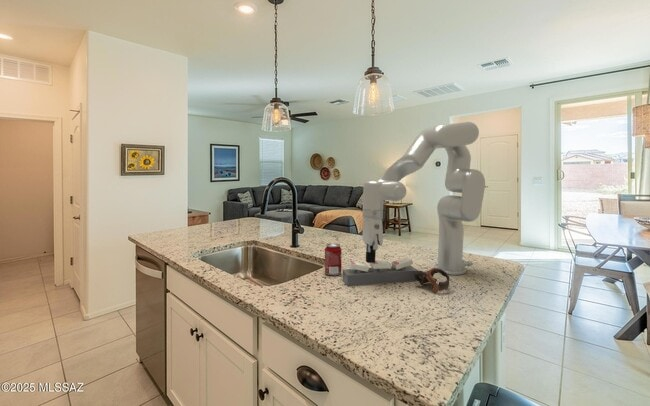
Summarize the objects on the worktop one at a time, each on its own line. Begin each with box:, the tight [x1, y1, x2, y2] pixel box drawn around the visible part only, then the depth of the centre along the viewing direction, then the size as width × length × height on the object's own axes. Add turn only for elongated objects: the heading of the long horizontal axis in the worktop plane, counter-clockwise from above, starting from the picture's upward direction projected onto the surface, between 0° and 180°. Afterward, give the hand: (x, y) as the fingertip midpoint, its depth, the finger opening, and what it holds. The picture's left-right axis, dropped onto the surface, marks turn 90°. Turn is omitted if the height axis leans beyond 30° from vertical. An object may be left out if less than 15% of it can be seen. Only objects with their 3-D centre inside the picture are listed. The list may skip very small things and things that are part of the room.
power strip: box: [342, 265, 421, 287], centre depth 116 cm, size 35×7×5 cm, turn 101°
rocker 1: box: [347, 260, 370, 272], centre depth 113 cm, size 7×4×2 cm, turn 102°
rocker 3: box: [390, 256, 414, 270], centre depth 117 cm, size 7×4×2 cm, turn 100°
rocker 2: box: [369, 260, 392, 269], centre depth 115 cm, size 7×4×2 cm, turn 101°
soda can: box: [324, 242, 342, 277], centre depth 123 cm, size 7×7×12 cm
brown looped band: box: [414, 267, 451, 294], centre depth 107 cm, size 12×10×8 cm
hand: (370, 261), depth 114 cm, fingers closed
